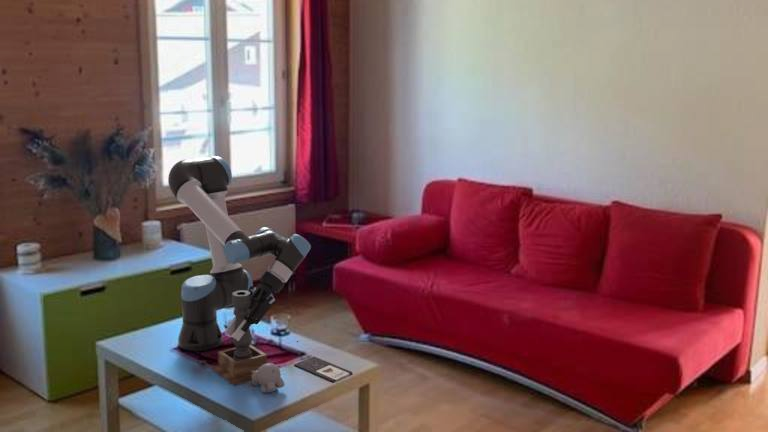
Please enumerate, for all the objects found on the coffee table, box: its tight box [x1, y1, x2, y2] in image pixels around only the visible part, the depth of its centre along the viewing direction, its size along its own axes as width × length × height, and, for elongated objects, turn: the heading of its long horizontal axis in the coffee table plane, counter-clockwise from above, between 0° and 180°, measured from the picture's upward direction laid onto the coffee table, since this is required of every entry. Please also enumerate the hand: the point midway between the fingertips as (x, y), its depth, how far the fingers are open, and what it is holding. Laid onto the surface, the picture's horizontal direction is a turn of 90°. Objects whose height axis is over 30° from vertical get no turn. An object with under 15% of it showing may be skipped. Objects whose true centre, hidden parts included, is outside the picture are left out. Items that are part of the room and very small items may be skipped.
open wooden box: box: [212, 343, 268, 386], centre depth 249 cm, size 14×14×6 cm
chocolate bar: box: [293, 355, 353, 383], centre depth 253 cm, size 9×1×18 cm
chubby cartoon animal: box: [251, 362, 285, 394], centre depth 238 cm, size 7×12×8 cm, turn 48°
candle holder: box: [232, 290, 253, 361], centre depth 247 cm, size 6×6×25 cm
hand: (231, 336), depth 245 cm, fingers closed on candle holder, 4 cm apart
